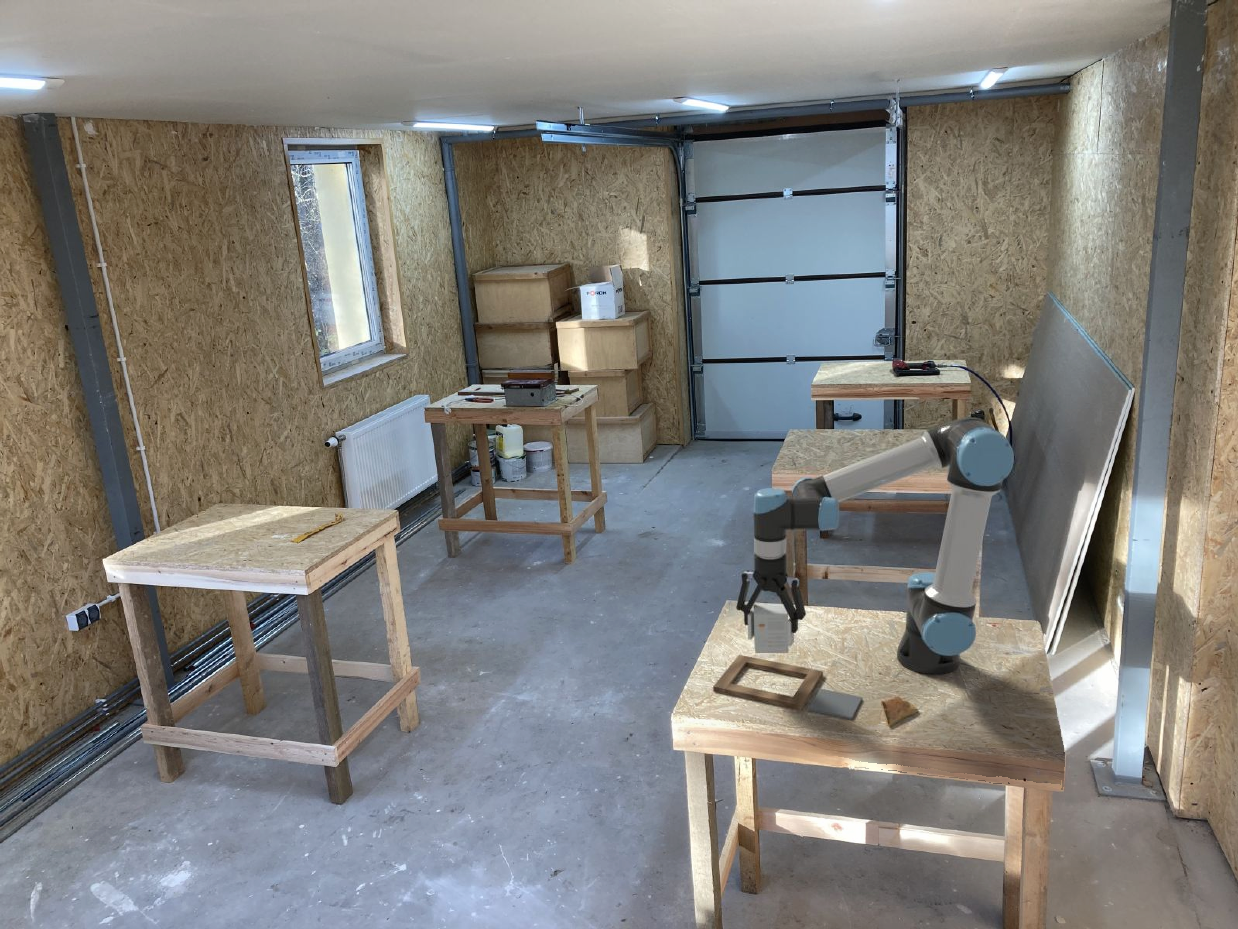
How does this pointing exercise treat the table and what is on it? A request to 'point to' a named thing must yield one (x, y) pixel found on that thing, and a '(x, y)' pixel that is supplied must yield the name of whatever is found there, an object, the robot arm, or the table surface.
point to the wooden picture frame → (794, 702)
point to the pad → (835, 704)
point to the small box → (770, 628)
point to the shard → (897, 710)
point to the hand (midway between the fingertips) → (770, 640)
